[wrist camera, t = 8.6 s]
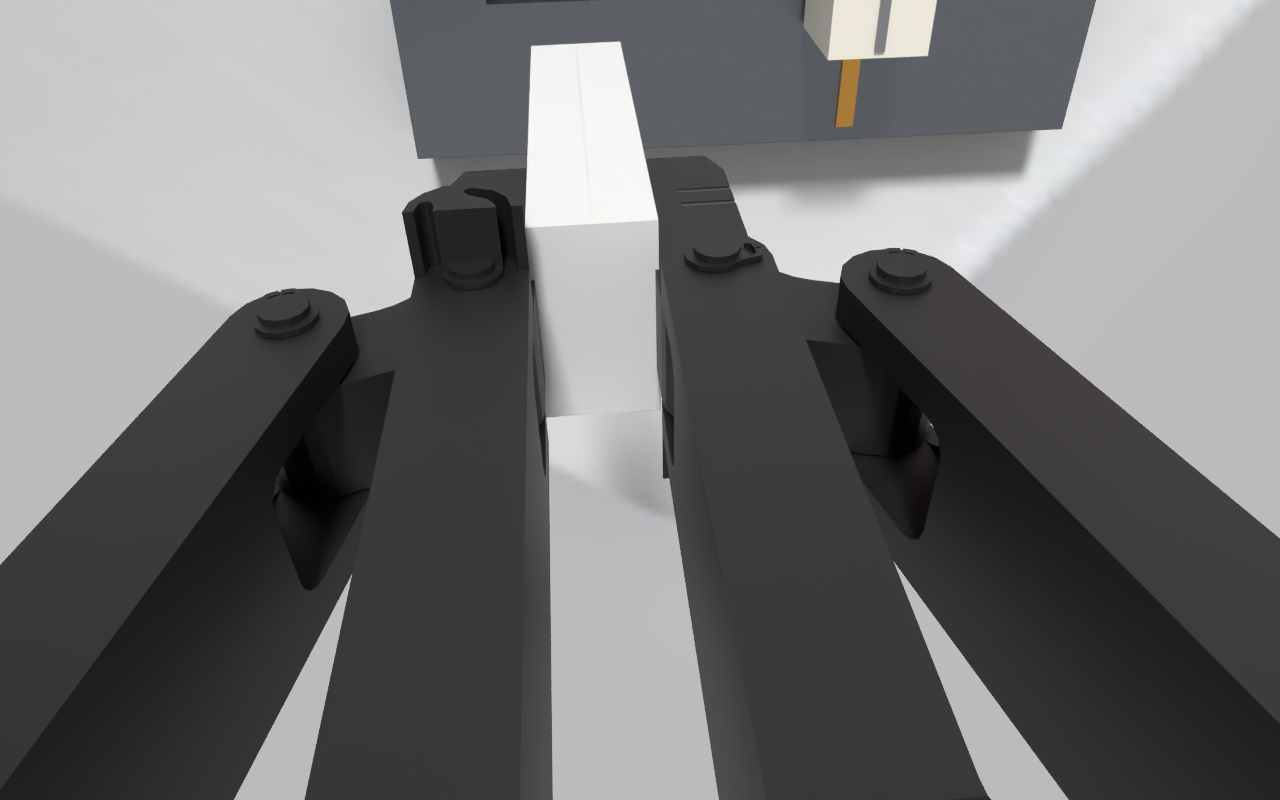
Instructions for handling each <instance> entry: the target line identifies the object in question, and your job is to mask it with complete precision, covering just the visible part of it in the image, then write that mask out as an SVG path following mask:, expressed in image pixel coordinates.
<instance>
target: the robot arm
mask: <svg viewBox="0 0 1280 800" xmlns="http://www.w3.org/2000/svg"><path fill="white" fill-rule="evenodd" d="M402 215H403V220H404V225H405V230H406V235H407V240H408V245H409V250H410V255H411V260H412V265H413V270H414V275H415V280H414V285H413V290H412V294H411V297H410V298H409V299H407V300H405V301H403V302H400V303H398V304H396V305H394V306H391V307H387V308H384V309H381V310H378V311H374V312H370V313H366V314H362V315H357V316H353V317H350V313H349V310H348V307H347V305H346V302H345V300H344V299H342V298H341V297H339V296H337V295H336V294H334V293H332V292H329V291H323V290H318V289H313V288H312V289H295V288H292V289H285V290H281V292H278V291H275V292H272V293H268V294H266V295H264V296H263V297H261V298H259V299H256V300H254V301H252V302H250V303H247V304H245V305H244V306H243V307H242V308H240V309H239V310H238V311H236V312H235V313H234V314H232V315H231V316H230V317H229V318H228V320H226V321H225V323H224V324H223V325H222V326H221V327H220V328H219V329H218V330H217V331H216V332H215V333H214V334H213V335H212V337H211V338H210V339H209V340H208V341H207V342H206V343H205V344H204V345H203V346H202V348H201V349H200V350H199V351H198V352H197V353H196V354H195V355H194V356H193V357H192V358H191V359H190V360H189V362H188V363H187V364H186V365H185V366H184V367H183V368H182V369H181V370H180V371H179V372H178V373H177V375H176V376H175V377H174V378H173V379H172V380H171V381H170V382H169V383H168V384H167V385H166V386H165V388H164V389H163V390H162V391H161V392H160V393H159V394H158V395H157V396H156V397H155V398H154V399H153V400H152V401H151V403H150V404H149V405H148V406H147V407H146V408H145V409H144V410H143V411H142V412H141V413H140V414H139V416H138V417H137V418H136V419H135V420H134V421H133V422H132V423H131V424H130V425H129V426H128V427H127V428H126V430H125V431H124V432H123V433H122V434H121V435H120V436H119V437H118V438H117V439H116V440H115V442H114V443H113V444H112V445H111V446H110V447H109V448H108V449H107V450H106V451H105V452H104V453H103V454H102V456H101V457H100V458H99V459H98V460H97V461H96V462H95V463H94V464H93V465H92V467H91V468H90V469H89V470H88V471H87V472H86V473H85V474H84V475H83V476H82V477H81V478H80V479H79V481H78V482H77V483H76V484H75V485H74V486H73V487H72V488H71V489H70V490H69V491H68V492H67V493H66V495H65V496H64V497H63V498H62V499H61V500H60V501H59V502H58V503H57V504H56V505H55V506H54V507H53V509H52V510H51V511H50V512H49V513H48V514H47V515H46V516H45V517H44V518H43V520H41V522H40V523H39V524H38V525H37V526H36V527H35V528H34V529H33V530H32V531H31V533H29V534H28V536H27V537H26V538H25V539H24V540H23V541H22V542H21V543H20V544H19V545H18V546H17V548H16V549H15V550H14V551H13V552H12V553H11V554H10V555H9V556H8V557H7V558H6V559H5V561H4V562H3V563H2V564H1V565H0V800H234V798H235V796H236V794H237V792H238V791H239V789H240V786H241V785H242V783H243V781H244V779H245V777H246V775H247V773H248V771H249V769H250V768H251V766H252V764H253V762H254V760H255V758H256V756H257V754H258V752H259V750H260V748H261V747H262V745H263V743H264V741H265V739H266V737H267V735H268V733H269V731H270V729H271V728H272V725H273V724H274V722H275V720H276V718H277V716H278V714H279V712H280V710H281V708H282V706H283V705H284V703H285V701H286V699H287V697H288V695H289V693H290V691H291V689H292V687H293V685H294V684H295V682H296V680H297V678H298V676H299V674H300V672H301V670H302V668H303V666H304V664H305V663H306V661H307V658H308V657H309V655H310V653H311V651H312V649H313V647H314V645H315V643H316V642H317V640H318V638H319V636H320V634H321V632H322V630H323V628H324V626H325V624H326V622H327V621H328V619H329V617H330V615H331V613H332V611H333V609H334V607H335V605H336V603H337V601H338V600H339V598H340V596H341V594H342V592H343V590H344V588H345V586H346V584H347V582H348V580H349V579H350V576H351V575H352V578H351V583H350V588H349V593H348V597H347V602H346V606H345V612H344V617H343V621H342V625H341V630H340V635H339V640H338V645H337V649H336V654H335V659H334V663H333V668H332V673H331V677H330V682H329V687H328V692H327V696H326V701H325V706H324V711H323V715H322V720H321V725H320V729H319V734H318V739H317V744H316V748H315V753H314V758H313V763H312V768H311V772H310V777H309V781H308V786H307V791H306V796H305V800H553V797H552V707H551V623H550V622H551V618H550V617H551V616H550V530H549V529H550V526H549V441H548V432H547V423H546V417H558V416H573V415H587V414H601V413H615V412H630V411H644V410H658V409H661V396H662V427H663V479H665V478H669V479H670V485H671V492H672V498H673V505H674V511H675V517H676V524H677V530H678V537H679V543H680V550H681V556H682V563H683V569H684V576H685V582H686V588H687V595H688V601H689V608H690V615H691V621H692V628H693V634H694V640H695V647H696V653H697V660H698V666H699V673H700V679H701V685H702V692H703V699H704V705H705V712H706V718H707V724H708V731H709V738H710V744H711V751H712V757H713V764H714V770H715V777H716V783H717V789H718V796H719V800H991V799H990V798H989V797H988V795H987V793H986V791H985V789H984V787H983V785H982V783H981V781H980V779H979V777H978V774H977V772H976V769H975V767H974V764H973V762H972V759H971V757H970V754H969V751H968V749H967V746H966V744H965V741H964V739H963V736H962V734H961V731H960V729H959V726H958V724H957V721H956V719H955V716H954V714H953V711H952V708H951V706H950V704H949V701H948V698H947V696H946V694H945V691H944V688H943V686H942V683H941V681H940V678H939V676H938V673H937V670H936V668H935V666H934V663H933V660H932V658H931V655H930V653H929V650H928V648H927V645H926V643H925V640H924V638H923V635H922V633H921V630H920V627H919V625H918V622H917V620H916V618H915V615H914V612H913V610H912V607H911V605H910V602H909V600H908V597H907V595H906V592H905V590H904V587H903V584H902V582H901V579H900V577H899V574H898V572H897V569H896V567H895V564H894V562H895V563H896V565H897V566H898V568H899V569H900V570H901V572H902V573H903V574H904V576H905V577H906V578H907V580H908V581H909V583H910V584H911V585H912V587H913V588H914V589H915V591H916V592H917V593H918V595H919V596H920V598H921V599H922V600H923V602H924V603H925V604H926V606H927V607H928V608H929V610H930V611H931V612H932V614H933V615H934V616H935V618H936V619H937V621H938V622H939V623H940V625H941V626H942V628H943V629H944V630H945V632H946V633H947V634H948V636H949V637H950V638H951V640H952V641H953V642H954V644H955V645H956V647H957V648H958V649H959V651H960V652H961V653H962V655H963V656H964V657H965V659H966V660H967V662H968V663H969V664H970V666H971V667H972V668H973V670H974V671H975V672H976V674H977V675H978V676H979V678H980V679H981V681H982V682H983V683H984V685H985V686H986V687H987V689H988V690H989V692H990V693H991V694H992V696H993V697H994V698H995V700H996V701H997V702H998V704H999V705H1000V706H1001V708H1002V709H1003V711H1004V712H1005V713H1006V715H1007V716H1008V717H1009V719H1010V720H1011V722H1012V723H1013V724H1014V726H1015V727H1016V728H1017V730H1018V731H1019V732H1020V734H1021V735H1022V737H1023V738H1024V739H1025V741H1026V742H1027V743H1028V745H1029V746H1030V747H1031V749H1032V750H1033V752H1034V753H1035V754H1036V756H1037V757H1038V758H1039V760H1040V761H1041V762H1042V764H1043V765H1044V766H1045V768H1046V769H1047V771H1048V772H1049V773H1050V775H1051V776H1052V777H1053V779H1054V780H1055V781H1056V782H1057V784H1058V785H1059V787H1060V788H1061V790H1062V791H1063V792H1064V794H1065V795H1066V796H1067V798H1068V799H1069V800H1280V538H1278V537H1277V536H1276V535H1275V534H1274V533H1272V532H1271V531H1270V530H1269V529H1267V528H1266V527H1265V526H1264V525H1263V524H1261V523H1260V522H1259V521H1258V520H1257V519H1255V518H1254V517H1253V516H1252V515H1251V514H1249V513H1248V512H1247V511H1246V510H1245V509H1243V508H1242V507H1241V506H1240V505H1238V504H1237V503H1236V502H1235V501H1234V500H1232V499H1231V498H1230V497H1229V496H1228V495H1226V494H1225V493H1224V492H1223V491H1221V490H1220V489H1219V488H1218V487H1217V486H1215V485H1214V484H1213V483H1212V482H1210V481H1209V480H1208V479H1207V478H1206V477H1205V476H1203V475H1202V474H1201V473H1200V472H1198V471H1197V470H1196V469H1195V468H1194V467H1192V466H1191V465H1190V464H1189V463H1188V462H1186V461H1185V460H1184V459H1183V458H1182V457H1180V456H1179V455H1178V454H1177V453H1176V452H1174V451H1173V450H1172V449H1171V448H1169V447H1168V446H1167V445H1166V444H1165V443H1163V442H1162V441H1161V440H1160V439H1159V438H1157V437H1156V436H1155V435H1154V434H1153V433H1151V432H1150V431H1149V430H1148V429H1146V428H1145V427H1144V426H1143V425H1142V424H1140V423H1139V422H1138V421H1137V420H1135V419H1134V418H1133V417H1132V416H1131V415H1129V414H1128V413H1127V412H1126V411H1125V410H1123V409H1122V408H1121V407H1120V406H1119V405H1117V404H1116V403H1115V402H1114V401H1113V400H1111V399H1110V398H1109V397H1108V396H1107V395H1105V394H1104V393H1103V392H1102V391H1101V390H1099V389H1098V388H1097V387H1096V386H1094V385H1093V384H1092V383H1091V382H1090V381H1088V380H1087V379H1086V378H1085V377H1083V376H1082V375H1081V374H1080V373H1079V372H1078V371H1076V370H1075V369H1074V368H1073V367H1071V366H1070V365H1069V364H1068V363H1067V362H1065V361H1064V360H1063V359H1062V358H1060V357H1059V356H1058V355H1057V354H1056V353H1054V352H1053V351H1052V350H1051V349H1050V348H1048V347H1047V346H1046V345H1045V344H1044V343H1042V342H1041V341H1040V340H1039V339H1037V338H1036V337H1035V336H1034V335H1033V334H1032V333H1030V332H1029V331H1028V330H1027V329H1025V328H1024V327H1023V326H1022V325H1021V324H1019V323H1018V322H1017V321H1016V320H1015V319H1013V318H1012V317H1011V316H1010V315H1008V314H1007V313H1006V312H1005V311H1004V310H1002V309H1001V308H1000V307H998V306H997V305H996V304H995V303H994V302H993V301H992V300H990V299H989V298H988V297H987V296H985V295H984V294H983V293H982V292H981V291H979V290H978V289H977V288H976V287H975V286H973V285H972V284H971V283H970V282H969V281H967V280H966V279H965V278H964V277H963V276H961V275H960V274H959V273H958V272H956V271H955V270H954V269H953V268H952V267H950V266H948V265H947V264H945V263H943V262H942V261H940V260H938V259H937V258H935V257H931V256H928V255H925V254H922V253H918V252H917V251H914V250H909V249H903V250H900V248H887V249H884V250H872V251H868V252H865V253H862V254H859V255H856V256H853V257H852V258H851V259H850V260H848V261H847V262H846V263H845V264H844V265H843V267H842V272H841V277H840V283H833V282H824V281H816V280H809V279H803V278H797V277H793V276H790V275H787V274H784V273H781V272H779V271H778V268H777V266H776V263H775V261H774V258H773V255H772V254H771V253H770V251H769V250H768V249H767V248H766V247H765V245H764V244H762V243H760V242H758V241H756V240H754V239H752V238H750V237H748V235H747V232H746V229H745V227H744V224H743V221H742V219H741V216H740V213H739V210H738V208H737V205H736V203H734V197H733V194H732V192H731V189H729V183H728V181H727V178H726V175H725V173H724V170H723V169H722V168H721V167H719V166H718V165H716V164H715V163H714V162H712V161H711V160H709V159H708V158H707V157H705V156H690V157H672V158H655V159H645V155H644V150H643V146H642V141H641V136H640V132H639V127H638V122H637V118H636V113H635V108H634V104H633V99H632V94H631V90H630V85H629V80H628V76H627V71H626V66H625V62H624V57H623V52H622V48H621V43H620V42H600V43H580V44H560V45H540V46H531V66H530V95H529V123H528V152H527V168H524V169H506V170H488V171H470V172H465V173H463V174H462V175H461V176H460V177H459V178H458V179H457V180H456V181H455V182H454V183H453V184H452V185H451V186H444V187H441V188H438V189H435V190H432V191H429V192H426V193H423V194H422V195H420V196H418V197H417V198H415V199H413V200H412V201H410V202H409V203H408V204H407V206H406V207H405V209H404V210H403V212H402ZM660 390H661V394H660ZM545 413H546V415H545ZM930 423H931V424H932V425H933V427H934V428H933V427H932V426H931V425H930ZM893 561H894V562H893Z"/></svg>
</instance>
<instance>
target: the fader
mask: <svg viewBox="0 0 1280 800" xmlns="http://www.w3.org/2000/svg"><path fill="white" fill-rule="evenodd" d="M936 3H937V0H806V2H805V14H804V26H803V27H804V28H805V30H806V31H807V32H808V34H809V35H810V36H811V38H812V39H813V41H814V42H815V43H816V45H817V46H818V47H819V49H820V50H821V52H822V53H823V54H824V56H825V57H826V58H827V60H847V59H870V58H893V57H917V56H928V51H929V45H930V39H931V33H932V27H933V21H934V15H935V9H936Z"/></svg>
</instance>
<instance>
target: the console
mask: <svg viewBox="0 0 1280 800" xmlns="http://www.w3.org/2000/svg"><path fill="white" fill-rule="evenodd" d="M805 2H806V0H390V4H391V9H392V15H393V21H394V26H395V32H396V37H397V43H398V49H399V54H400V60H401V66H402V71H403V77H404V83H405V88H406V94H407V100H408V105H409V111H410V117H411V122H412V128H413V134H414V139H415V145H416V151H417V156H418V159H426V158H447V157H469V156H490V155H512V154H527V152H528V123H529V95H530V66H531V46H540V45H560V44H580V43H600V42H620V43H621V48H622V52H623V57H624V62H625V66H626V71H627V76H628V80H629V85H630V90H631V94H632V99H633V104H634V108H635V113H636V118H637V122H638V127H639V132H640V136H641V141H642V146H643V148H663V147H685V146H706V145H728V144H749V143H771V142H793V141H814V140H836V139H857V138H879V137H901V136H922V135H944V134H965V133H987V132H1008V131H1030V130H1052V129H1062V126H1063V122H1064V118H1065V115H1066V111H1067V107H1068V103H1069V100H1070V96H1071V92H1072V88H1073V84H1074V81H1075V77H1076V73H1077V69H1078V66H1079V62H1080V58H1081V54H1082V51H1083V47H1084V43H1085V39H1086V36H1087V32H1088V28H1089V24H1090V20H1091V17H1092V13H1093V9H1094V5H1095V2H1096V0H937V3H936V9H935V15H934V21H933V27H932V33H931V39H930V45H929V51H928V56H917V57H893V58H870V59H847V60H827V58H826V57H825V56H824V54H823V53H822V52H821V50H820V49H819V47H818V46H817V45H816V43H815V42H814V41H813V39H812V38H811V36H810V35H809V34H808V32H807V31H806V30H805V28H804V27H803V26H804V14H805Z"/></svg>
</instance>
